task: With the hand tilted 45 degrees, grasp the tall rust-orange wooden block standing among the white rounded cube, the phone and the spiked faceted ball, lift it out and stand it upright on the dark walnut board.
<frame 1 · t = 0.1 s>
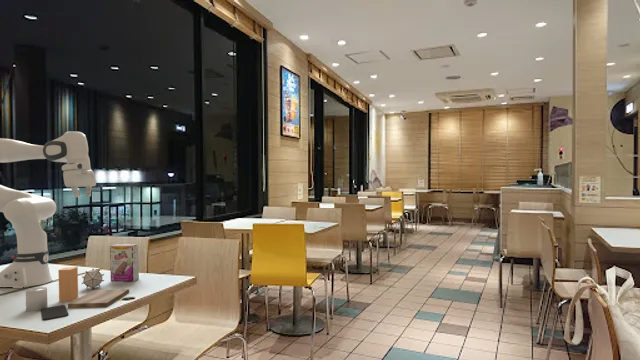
hand: (83, 196, 185), 39 cm above the table, tool pointing down, fingers open, 8 cm apart
orange block: (68, 299, 158), on the table
walnut board: (100, 299, 156), on the table
candy bar box: (124, 281, 186), on the table
spiked faceted ball: (93, 288, 174), on the table
phone: (54, 314, 142), on the table
white rounded cube: (36, 309, 147), on the table
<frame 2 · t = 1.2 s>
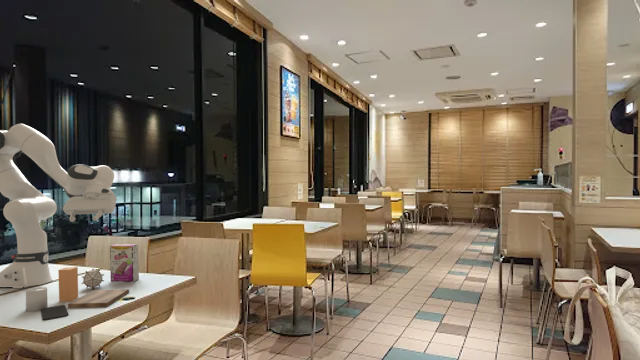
hand: (83, 220, 169), 30 cm above the table, tool tilted 45°, fingers open, 8 cm apart
nothing on the table moved.
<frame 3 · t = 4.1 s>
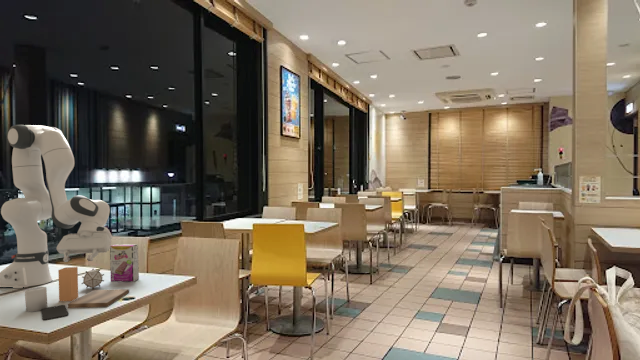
hand: (77, 260, 164), 14 cm above the table, tool tilted 45°, fingers open, 8 cm apart
nothing on the table moved.
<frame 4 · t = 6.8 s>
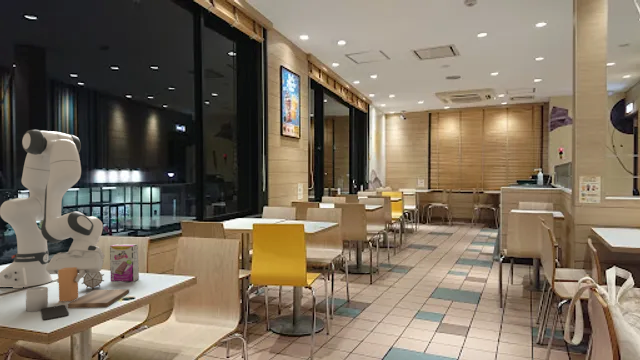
hand: (67, 282, 157), 7 cm above the table, tool tilted 45°, fingers closed on orange block, 5 cm apart
orange block: (68, 299, 158), on the table, touching gripper
everything else where it was.
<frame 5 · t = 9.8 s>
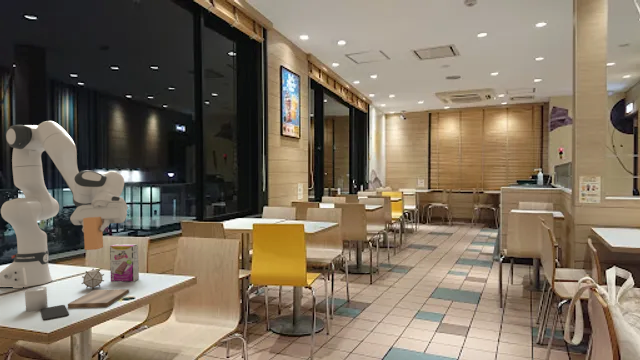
hand: (92, 231, 155), 27 cm above the table, tool tilted 45°, fingers closed on orange block, 5 cm apart
orange block: (94, 248, 156), point 20 cm above the table, touching gripper
everything else where it was.
when the fingers open (10 cm above the table, at t = 13.1 s): orange block drops 1 cm, resting on walnut board.
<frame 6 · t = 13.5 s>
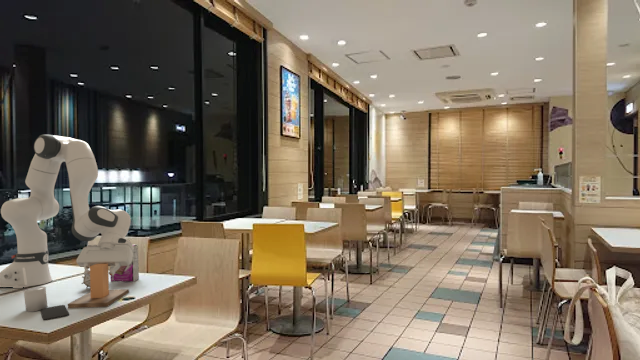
hand: (98, 274, 155), 10 cm above the table, tool tilted 45°, fingers open, 8 cm apart
orange block: (99, 296, 156), point 1 cm above the table, touching walnut board
everything else where it was.
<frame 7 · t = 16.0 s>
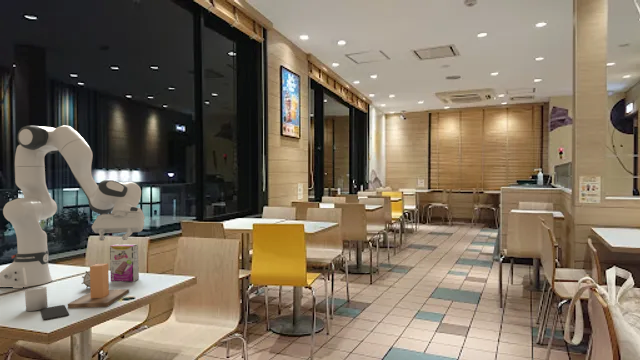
hand: (112, 239, 167), 22 cm above the table, tool tilted 45°, fingers open, 8 cm apart
nothing on the table moved.
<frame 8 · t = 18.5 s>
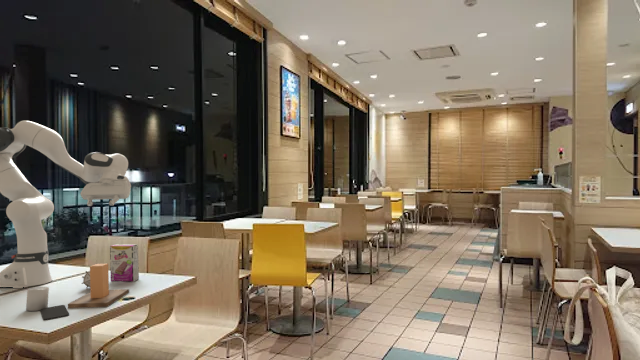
hand: (100, 204, 177), 35 cm above the table, tool tilted 45°, fingers open, 8 cm apart
nothing on the table moved.
at the end: orange block inside the target area on the walnut board (0.1 cm from its centre), point 1.5 cm above the walnut board's base; orange block tilted 0°; the gripper is holding nothing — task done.
